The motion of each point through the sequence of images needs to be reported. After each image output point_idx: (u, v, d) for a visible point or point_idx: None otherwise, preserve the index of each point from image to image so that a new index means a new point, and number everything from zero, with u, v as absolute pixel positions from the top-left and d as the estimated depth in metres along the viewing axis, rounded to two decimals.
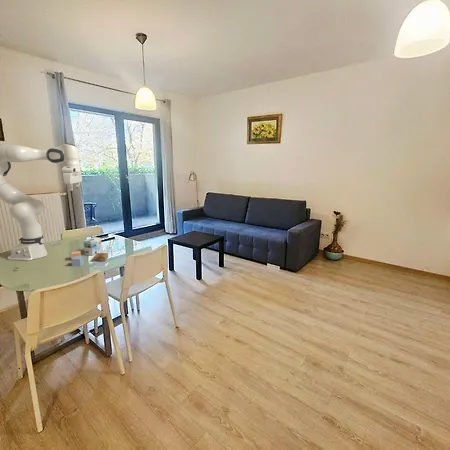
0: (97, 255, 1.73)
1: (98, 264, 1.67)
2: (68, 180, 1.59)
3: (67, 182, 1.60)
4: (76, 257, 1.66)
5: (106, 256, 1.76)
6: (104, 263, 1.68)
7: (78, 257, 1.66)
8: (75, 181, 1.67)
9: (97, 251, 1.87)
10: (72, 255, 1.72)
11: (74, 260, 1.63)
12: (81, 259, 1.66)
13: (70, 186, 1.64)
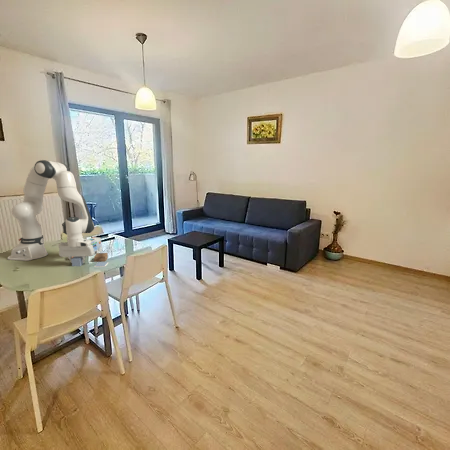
0: (97, 255, 1.73)
1: (98, 264, 1.67)
2: (93, 251, 1.66)
3: (93, 253, 1.66)
4: (76, 257, 1.66)
5: (106, 256, 1.76)
6: (104, 263, 1.68)
7: (78, 257, 1.66)
8: None
9: (97, 251, 1.87)
10: None
11: (74, 260, 1.63)
12: (81, 259, 1.66)
13: (84, 258, 1.66)
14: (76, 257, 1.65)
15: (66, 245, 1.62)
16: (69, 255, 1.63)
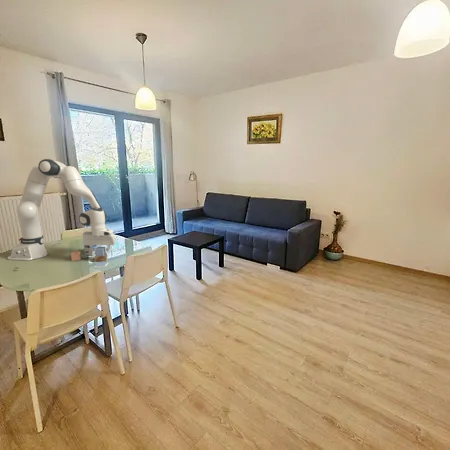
0: None
1: (98, 264, 1.67)
2: (115, 240, 1.74)
3: (115, 242, 1.74)
4: (99, 247, 1.74)
5: (106, 256, 1.77)
6: (104, 263, 1.68)
7: (101, 247, 1.74)
8: None
9: None
10: (72, 255, 1.72)
11: (97, 250, 1.71)
12: (104, 249, 1.74)
13: (109, 246, 1.74)
14: (99, 247, 1.74)
15: (90, 234, 1.70)
16: (93, 244, 1.71)
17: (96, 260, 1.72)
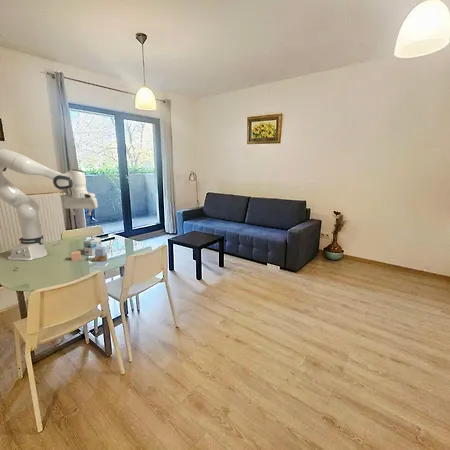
0: None
1: (98, 264, 1.67)
2: (97, 204, 1.70)
3: (96, 206, 1.70)
4: (99, 247, 1.74)
5: (106, 256, 1.77)
6: (104, 263, 1.68)
7: (101, 247, 1.74)
8: None
9: None
10: (72, 255, 1.72)
11: (97, 250, 1.71)
12: (104, 249, 1.74)
13: (91, 210, 1.70)
14: (99, 247, 1.74)
15: (70, 197, 1.65)
16: (73, 207, 1.66)
17: (96, 260, 1.72)
